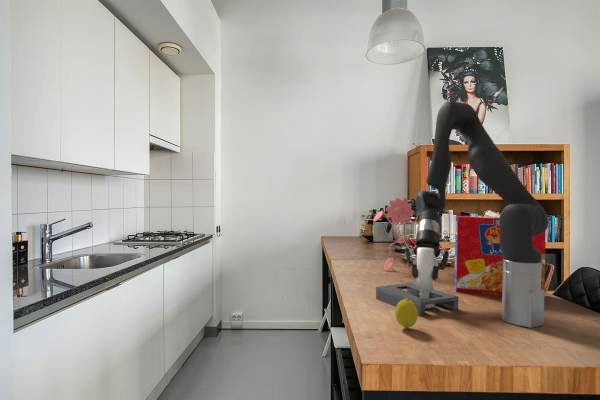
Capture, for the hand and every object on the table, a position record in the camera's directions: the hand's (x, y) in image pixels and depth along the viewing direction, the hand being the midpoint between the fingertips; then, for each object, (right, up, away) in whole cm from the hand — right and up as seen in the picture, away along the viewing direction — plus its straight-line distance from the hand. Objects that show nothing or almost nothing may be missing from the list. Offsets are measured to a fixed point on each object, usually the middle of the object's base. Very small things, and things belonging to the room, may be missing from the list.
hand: (424, 277), depth 111 cm
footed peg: (+1, -9, +2) cm, 9 cm away
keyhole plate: (-1, -10, +5) cm, 11 cm away
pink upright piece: (+7, -10, +54) cm, 55 cm away
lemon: (-11, -10, -18) cm, 23 cm away
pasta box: (+34, -11, +21) cm, 41 cm away
